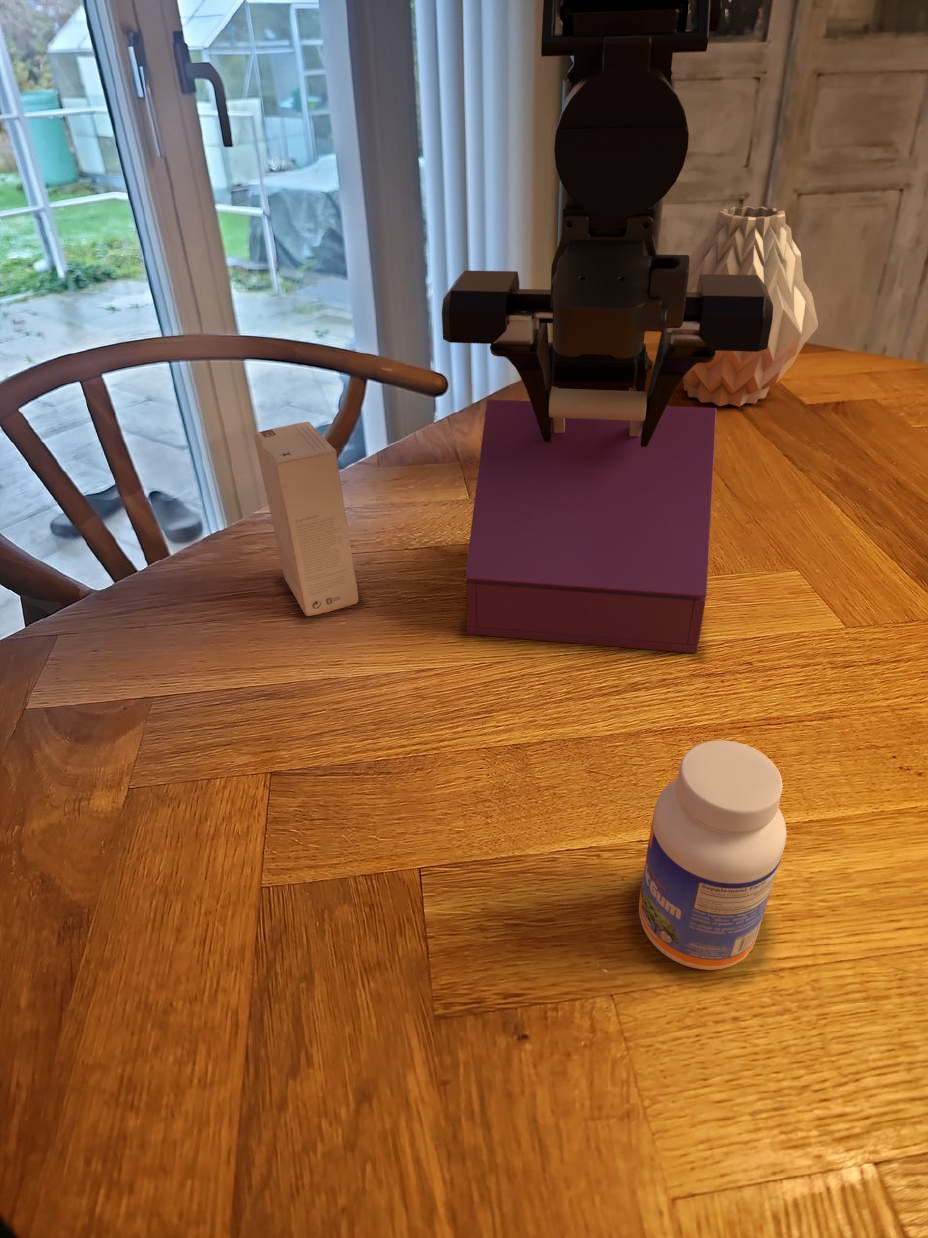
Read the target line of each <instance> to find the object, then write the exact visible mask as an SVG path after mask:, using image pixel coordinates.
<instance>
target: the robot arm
mask: <svg viewBox="0 0 928 1238" xmlns="http://www.w3.org/2000/svg"><path fill="white" fill-rule="evenodd" d="M542 1H543V4H542V5H543V6H542V21H541V22H542V23H541V42H540V43H541V45H540V46H541V47H540V49H541V51H540V54H541V58H548V57H549V58H550V57H551V58H552V57H570V59H571V61H572V66H571V67H570V68H569V69H568V71H567V74H566V78H564V79H562V97H561V98H562V101H561V104H562V105H561V113H560V116H559V119H558V123H557V127H556V131H555V136H554V137H555V138H554V147H553V148H554V150H553V152H554V160H555V168H556V171H557V174H558V177H559V189H558V190H559V194H558V195H559V196H558V224H557V226H558V227H557V248H556V251H555V254H554V257H553V260H552V263H551V268H550V269H551V270H550V289H544V288H543V289H541V288H535V289H534V288H520V277H519V272H518V271H515V270H514V271H511V270H464V271H462V273H461V274H460V275H459V276H458V277H457V278H456V279H455V281H454V282H453V284H452V285H451V287H450V288H449V290H448V291H447V293H446V294H445V295H444V297H443V299H442V307H441V321H442V322H441V326H442V327H441V328H442V340H443V341H446V342H448V343H452V344H480V345H483V344H484V345H486V344H487V345H489V350H490V353H491V355H492V356H494V357H499V358H501V357H502V358H505V359H507V360H508V362H509V363H511V365H512V366H513V368H515V369H516V371H517V374H518V375H519V377H520V379H521V381H522V384H523V385H524V387H525V390H526V393H527V395H528V399H529V401H531V404H532V407H533V410H534V413H535V416H536V419H537V422H538V425H539V428H540V431H541V434H542V437H543V440H544V442H550V441H551V437H552V423H553V417H549V397H550V390H551V389H552V388H559V389H587V390H615V391H642V392H647V404H646V415H645V420H644V421H642V432H641V447H647V445H648V443H649V441H650V439H651V437H652V435H653V433H654V431H655V429H656V427H657V424H658V422H659V420H660V418H661V416H662V414H663V412H664V410H665V408H666V406H668V404H669V402H670V399H671V397H672V396H673V394H674V393H675V391H676V389H677V388H678V386H679V385H680V384H681V381H683V379H682V378H683V377H684V376H685V374H686V373H687V372H688V371H689V370H690V369H691V368H692V367H693V366H694V365H695V364H697V363H709V362H712V361H713V360H714V357H715V354H716V353H715V351H748V352H759V351H762V350H765V349H767V347H768V342H769V336H770V331H771V325H772V320H773V304H772V301H771V298H770V295H769V293H768V290H767V287H766V285H765V284H764V283H763V281H762V280H761V279H760V277H759V276H758V275H717V274H700V275H699V279H698V284H697V290H696V292H687V286H688V277H689V262H690V256H691V255H689V254H659V248H660V238H661V227H662V217H663V209H664V197H665V196H666V195H667V194H668V193H669V192H670V190H671V188H672V187H673V186H674V185H675V183H676V182H677V180H678V178H679V176H680V174H681V173H682V170H683V168H684V167H685V161H686V157H687V154H688V149H689V140H690V139H689V138H690V137H689V136H690V132H689V125H688V121H687V116H686V111H685V109H684V106H683V104H682V102H681V100H680V97H679V96H678V94H677V93H676V91H675V84H676V76H675V75H673V70H672V66H673V57H674V56H673V55H674V54H680V53H681V54H682V53H683V54H684V53H685V54H686V53H706V52H707V50H708V44H709V37H710V36H709V34H710V33H716V32H718V31H719V25H720V22H721V16H722V12H723V0H542ZM690 3H691V4H690ZM689 5H691V6H690V7H691V8H690V17H691V19H690V20H691V21H690V24H691V25H690V26H691V27H690V28H691V29H687V27H688V26H687V25H688V16H689ZM557 18H559V24H561V25H562V27H561V29H562V30H561V33H556V27H557ZM548 324H552V342H551V341H550V342H549V327H548ZM646 332H654V333H655V332H656V333H657V332H658V333H660V337H659V341H658V347H657V350H656V355H655V361H654V363H653V360H652V359H651V358H650V357H649V355H648V351H647V343H646V342H645V333H646Z"/></svg>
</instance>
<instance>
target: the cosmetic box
mask: <svg viewBox="0 0 928 1238" xmlns="http://www.w3.org/2000/svg"><path fill="white" fill-rule="evenodd" d="M253 437H254V443H255V449H256V453H257V458H258V463H259V467H260V472H261V476H262V482H263V485H264V491H265V495H266V500H267V504H268V509H269V513H270V518H271V522H272V526H273V532H274V536H275V541H276V546H277V550H278V555H279V560H280V565H281V569H282V573H283V578H284V580H285V582H286V584H287V586H288V587H289V589H290V591H291V592H292V594H293V596H294V597H295V600H296V601H297V603H298V605H299V607H300V608H301V610H302V612H303V614H304V615H305V616H306V617H311V616H315V615H316V616H317V615H321V614H325V613H329V612H332V611H336V610H340V609H343V608H347V607H350V606H353V605H356V604H358V602H359V591H358V584H357V578H356V577H357V576H356V573H355V565H354V557H353V552H352V547H351V539H350V533H349V527H348V520H347V513H346V507H345V500H344V494H343V488H342V482H341V476H340V470H339V463H338V455H337V453H338V452H337V450H336V448H335V447H333V445H332V444H330V443H329V441H328V440H327V439H325V437H323V435H322V434H321V433H320V432H319V431H318V430H317V429H316V428H315V426H314V425H313V424H312V423H311V422H310V421H303V422H297V423H293V424H289V425H284V426H279V427H274V428H270V429H266V430H262V431H257V432H254V435H253Z"/></svg>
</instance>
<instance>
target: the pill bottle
mask: <svg viewBox="0 0 928 1238" xmlns="http://www.w3.org/2000/svg"><path fill="white" fill-rule="evenodd" d="M783 785H784V784H783V778H782V776H781V773H780V771H779V769H778V767H777V766H776V764H775V763H774V762H773V761H772V760H771V759H770V758H769V757H768V756H767V755H765V754H764V753H763V752H761V751H760V750H758V749H756V748H754V747H752V746H750V745H747V744H744V743H741V742H737V741H734V740H733V741H732V740H723V739H722V740H720V739H718V740H709V741H704V742H700V743H699V744H696V745H694V746H693V747H691V748H690V749H689V750H687V752H686V753H684V756H683V758H682V759H681V760H680V765H679V769H678V773H677V777H676V778H675V779H673V780H672V781H670V782H669V783H668V784H666V786H665V787H663V789H662V791H661V792H660V794H659V795H658V797H657V798H656V802H655V805H654V808H653V814H652V819H651V826H650V830H649V831H650V832H649V838H648V844H647V851H646V854H645V855H646V857H645V862H644V869H643V875H642V880H641V885H640V886H641V887H640V892H639V901H638V914H639V920H640V923H641V926H642V929H643V931H644V933H645V935H646V937H647V938H648V939H649V941H650V942H651V943H652V945H653V946H654V947H655V948H656V949H657V950H659V951H660V952H661V953H662V954H663V955H664V956H666V957H667V958H669V959H670V960H672V961H674V962H676V963H678V964H681V965H683V966H685V967H689V968H694V969H698V970H708V971H710V970H711V971H712V970H713V971H714V970H721V969H727V968H729V967H730V968H731V967H732V966H734V965H736V964H738V963H740V962H741V961H742V960H744V959H745V958H747V956H748V955H749V953H750V952H751V951H752V949H753V947H754V946H755V943H756V941H757V938H758V935H759V932H760V928H761V926H762V925H761V924H762V921H763V919H764V915H765V911H766V909H767V904H768V901H769V898H770V895H771V892H772V889H773V886H774V883H775V880H776V877H777V873H778V870H779V868H780V864H781V861H782V857H783V853H784V850H785V847H786V844H787V826H786V822H785V821H786V820H785V819H784V818H785V817H784V815H783V813H782V811H781V809H780V808H779V807H780V802H781V798H782V793H783Z"/></svg>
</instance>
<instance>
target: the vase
mask: <svg viewBox="0 0 928 1238" xmlns="http://www.w3.org/2000/svg"><path fill="white" fill-rule="evenodd" d="M689 256H690V262H689V277H688V286H687V292H696V290H697V284H698V279H699V275H700V274H717V275H758V276H759V277H760V279H761V280H762V281H763V283H764V284H765V285H766V287H767V290H768V293H769V295H770V298H771V301H772V304H773V320H772V325H771V331H770V336H769V342H768V347H767V349H765V350H762V351H759V352H748V351H715V353H716V354H715V357H714V360H713V361H712V362H709V363H697V364H695V365H694V366H693V367H692V368H691V369H690V370H689V371H688V372H687V373H686V374H685V376H684V377H683V378H682V381H683V390H684V391H685V392H687V397H688V398H693V399H698V401H699V403H701V404H707V403H709V404H710V403H711V404H712V403H713V404H714V405H716V406H718V407H722V406H726V405H731V406H734V407H741V406H743V405H745V404H747V405H748V404H750V405H756V404H757V403H758V400H761V399H766V397H767V395H768V392H769V389H770V387H772V386H774V385H776V384H777V383H778V382H779V381H780V380H781V378H782V377H784V375H785V374H786V372H788V370H789V369H790V368H791V366H793V365H794V363H795V360H796V359H797V357H798V356H799V354H800V353H801V350H802V349H803V347H804V345H805V344H806V343H807V341H808V340H809V339H810V338H811V336H812V335H813V334H814V333H815V331H816V330H817V329H818V327H819V322H818V316H817V312H816V307H815V302H814V297H813V293H812V291H811V290H810V287H808V285H807V283H806V282H805V281H804V272H803V263H802V262H803V261H802V252H801V251H800V249H799V248H798V246H797V245H796V242H795V241H794V240H793V236H792V229H791V227H790V226H789V225H787V223H786V212H785V210H777V207H773V208H772V207H771V208H767V207H765V206H758V207H753V206H749V205H746V206H744V207H737V206H732V207H731V208H722V209H721V210H719V211H718V212H717V215H716V218H715V221H714V222H713V223H712V224H710V225H709V227H708V228H707V231H706V234H705V235H704V237H703V238H702V239H701V240H700V241H699V242H698V243H697V244H696V245H695V246H694V248H693V249H692V252H691V254H690V255H689Z"/></svg>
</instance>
